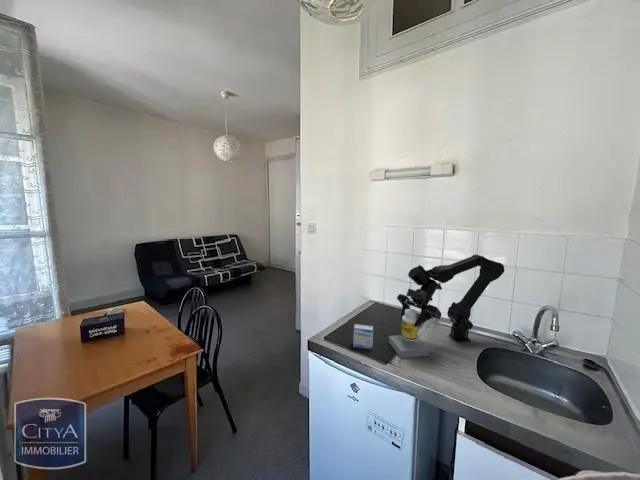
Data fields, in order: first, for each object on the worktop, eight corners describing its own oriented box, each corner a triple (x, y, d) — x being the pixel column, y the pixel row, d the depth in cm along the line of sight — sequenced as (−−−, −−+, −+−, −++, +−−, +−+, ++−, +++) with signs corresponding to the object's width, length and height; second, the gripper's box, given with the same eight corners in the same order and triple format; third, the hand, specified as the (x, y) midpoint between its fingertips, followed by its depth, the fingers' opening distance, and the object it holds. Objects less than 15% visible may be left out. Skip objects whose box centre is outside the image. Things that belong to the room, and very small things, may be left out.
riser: (414, 340, 123) (415, 334, 123) (429, 355, 112) (429, 348, 111) (388, 342, 122) (389, 336, 121) (400, 358, 110) (401, 351, 109)
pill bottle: (398, 335, 118) (399, 309, 116) (410, 332, 120) (411, 306, 118) (408, 342, 112) (409, 315, 110) (421, 339, 114) (422, 312, 112)
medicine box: (353, 347, 118) (353, 328, 116) (354, 342, 122) (354, 323, 120) (372, 349, 116) (372, 330, 114) (372, 344, 120) (373, 325, 119)
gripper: (400, 276, 122) (381, 305, 118) (438, 287, 107) (419, 322, 102) (411, 289, 127) (393, 318, 123) (449, 302, 112) (431, 336, 108)
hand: (407, 323), depth 114 cm, fingers closed on pill bottle, 6 cm apart
